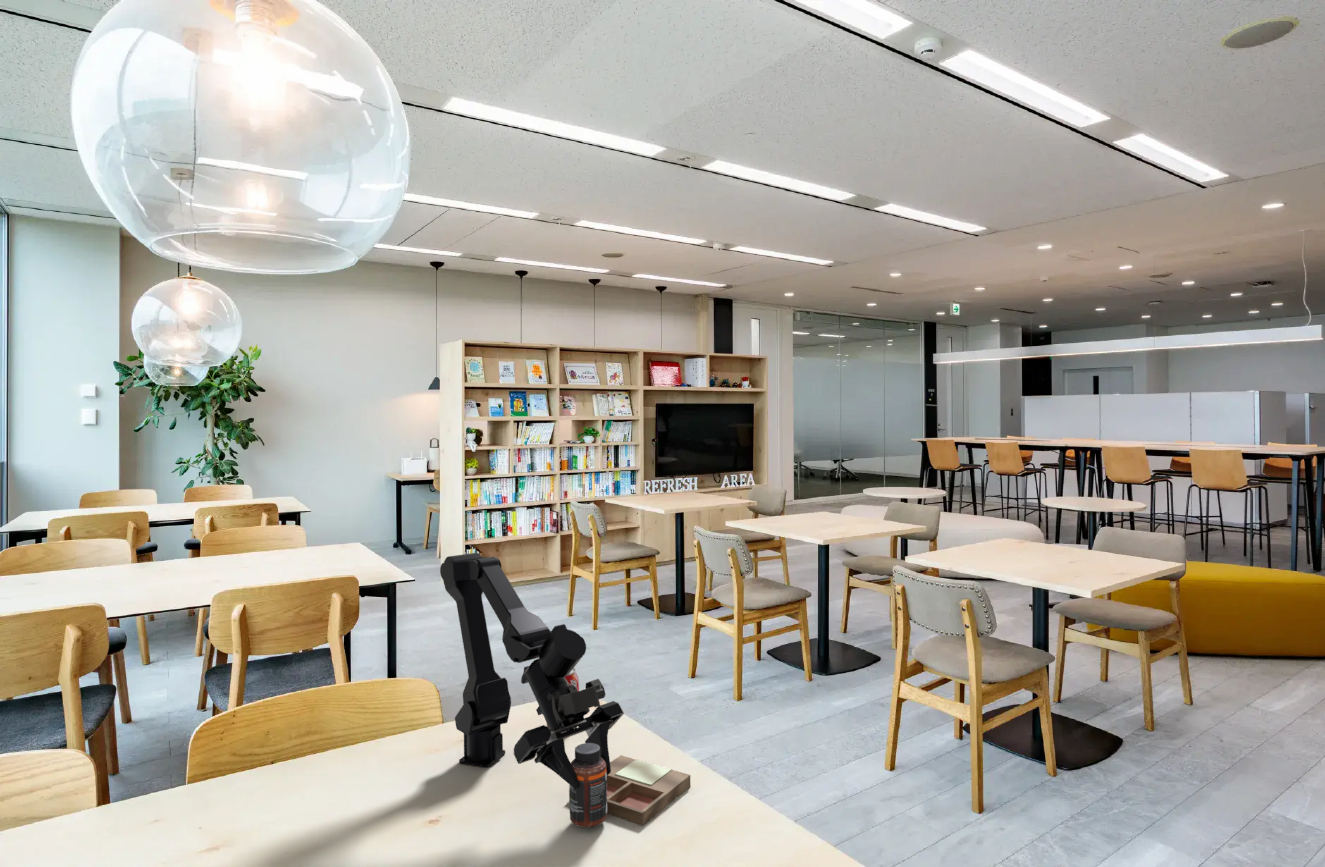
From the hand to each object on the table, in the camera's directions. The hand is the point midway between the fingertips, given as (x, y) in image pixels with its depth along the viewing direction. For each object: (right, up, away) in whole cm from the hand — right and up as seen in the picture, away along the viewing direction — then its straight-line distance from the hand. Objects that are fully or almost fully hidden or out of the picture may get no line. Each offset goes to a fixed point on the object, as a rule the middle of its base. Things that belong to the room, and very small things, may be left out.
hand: (593, 780), depth 112 cm
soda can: (-10, -8, +39) cm, 41 cm away
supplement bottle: (-1, -7, +1) cm, 7 cm away
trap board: (+5, -7, +10) cm, 14 cm away
